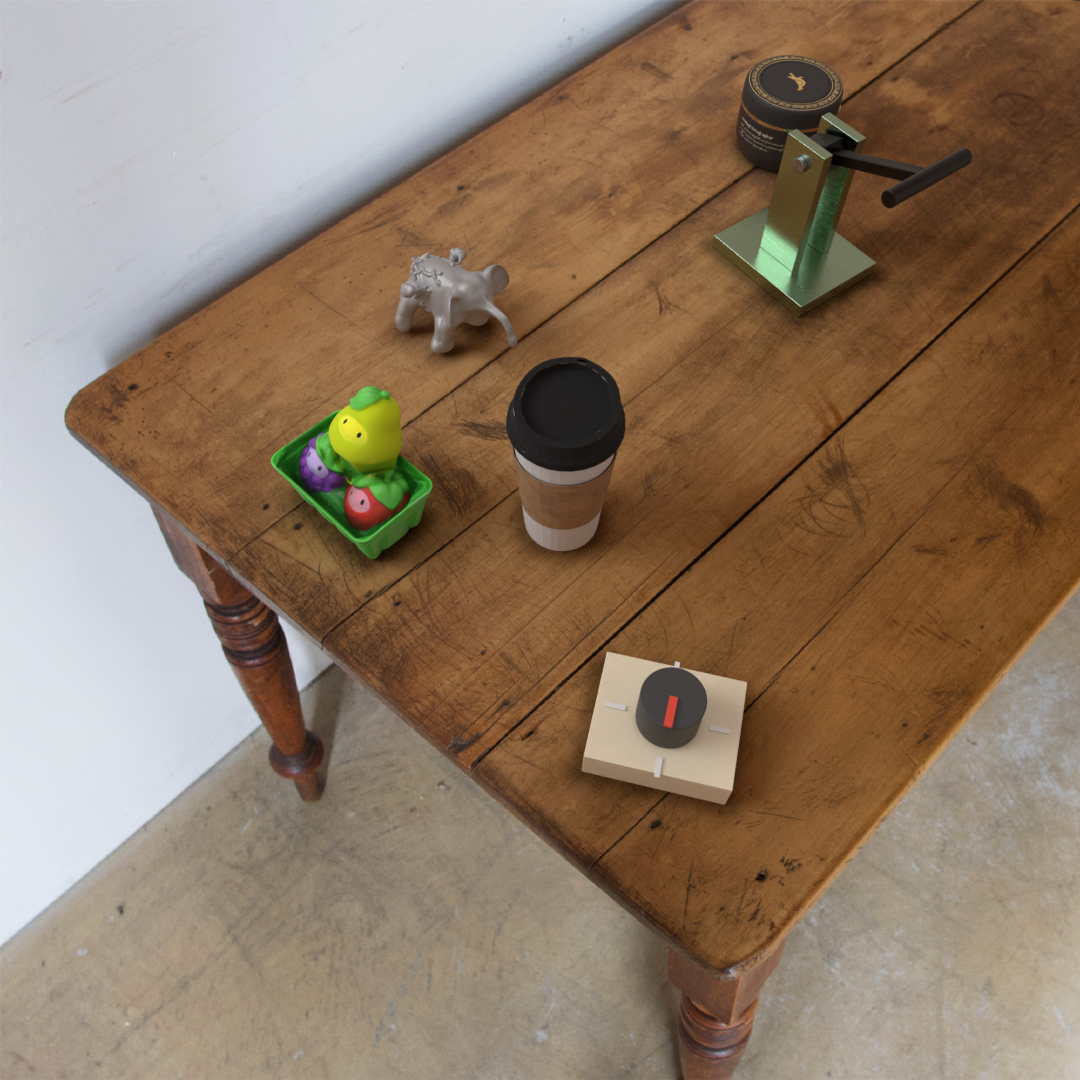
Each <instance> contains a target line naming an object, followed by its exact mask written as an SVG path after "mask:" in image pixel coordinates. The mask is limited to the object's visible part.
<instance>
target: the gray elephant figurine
mask: <svg viewBox="0 0 1080 1080" xmlns="http://www.w3.org/2000/svg"><path fill="white" fill-rule="evenodd" d="M467 255H468V254H467V251H466V250H463V249H462V248H461V247H452V248H451V249H449V257H448V258H446V257H442V255H440V254H438V255H434V254H431V252H429V251H426V252H425V253H424V254H422V255H420V256H419V255H418V256H417V257H416V256H412V257H411V258H410V259H411V261H412V262H411V265H410V270H409V273H408V275H409V277H408V279H406V281H405V282H403V283H401V285H400V286H401V287H400V291H399V292H400V295H399V302H398V305H397V309H396V313H395V317H394V323H395V327H396V328H397V330H399V331H400V332H402V333H406V332H408V331H409V330H410V329H411V327H412V325H413V321H414V317H415V314H416V312H417V310H419V308H420V309H421V310H422V309H423V310H424V309H425V311H426V312H428V313H431V315H432V316H433V319H434V331H433V336H432V338H431V341H430V349H431V352H433V353H434V354H445V353H448V352H450V351H452V350H453V348H454V347H455V343H454V339H453V338H454V335H455V333H456V331H457V328H458V326H459V325H460V324H465V323H466V324H469V325H471V326H475V327H480V326H483V325H485V324H486V323H487V322H488V320H489V318H490V317H493V318H495V319H496V320H497V321H499V323H500V324H501V325H502V326H503V329H504V331H505V334H506V340H507V343H508V346H509V347H510V348H515V347H517V345H518V337H517V335H516V332H515V329H514V326H513V325H512V323H511V321H510V319H509V317H508V316H507V315H506V314H505V313H504V312H503V311H502V310H501V309H500V308H498V307H497V306H496V305H495V303H494V297H497V296H499V295H501V294H502V293H503V291H505V289H506V288H507V287H508V285H509V284H510V275H509V272H508V271H507V268H505V267H504V266H503V265H501V264H491V265H488V266H487V267H486V268H485V269H484V270H475V271H469V270H467V269H465V268H464V267H463V265H462V264H463V263H462V262H463V260H465V259H466V258H467Z"/></svg>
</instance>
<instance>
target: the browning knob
mask: <svg viewBox="0 0 1080 1080" xmlns="http://www.w3.org/2000/svg"><path fill="white" fill-rule="evenodd" d="M681 668H682V667H680V668H676V667H667V668H662V669H659V670H657V671H655V672H653V673H651V674H650V675H649V676H648V677H647V678H646V679H645V681H644V682H643V685H642V687H641V690H640V695H639V699H638V703H637V708H636V713H635V719H636V724H637V727H638V729H639V731H640V733H641V734H642V735H643V737H644V738H645V739H646V740H648V741H649V742H650V743H652V744H654V745H656V746H659V747H662V748H678V747H681V746H684V745H686V744H687V743H689V742H690V741H691V740H692V739H693V738H694V737H695V735H696V734H697V732H698V729H699V727H700V724H701V721H702V719H703V716H704V714H705V711H706V708H707V694H706V691H705V688H704V686H703V685H702V683H701V682H700V680H699V679H698V678H697V677H696V676H694V675H693V674H692V673H690V672H688V671H686V670H684V669H681Z"/></svg>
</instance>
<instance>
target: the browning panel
mask: <svg viewBox="0 0 1080 1080" xmlns="http://www.w3.org/2000/svg"><path fill="white" fill-rule="evenodd" d="M680 666H681V662H680V661H674V665H671V664H666V663H661V662H657V661H653V660H647V659H644V658H639V657H635V656H629V655H625V654H620V653H615V652H611V651H606V655H605V660H604V663H603V667H602V673H601V677H600V680H599V681H600V682H599V686H598V691H597V695H596V699H595V704H594V708H593V713H592V717H591V720H590V721H591V722H590V726H589V731H588V735H587V739H586V744H585V748H584V753H583V756H582V757H583V759H582V765H581V772H584V773H587V774H591V775H596V776H600V777H603V778H608V779H612V780H616V781H621V782H625V783H630V784H633V785H637V786H638V785H639V786H643V787H647V788H651V789H655V790H659V791H662V792H663V791H664V792H668V793H673V794H677V795H681V796H685V797H690V798H692V799H693V798H694V799H696V800H697V799H698V800H702V801H706V802H710V803H715V804H719V805H726V803H727V802H728V799H729V798H730V796H731V794H732V793H733V790H734V783H735V774H736V768H737V760H738V752H739V747H740V738H741V734H742V733H741V732H742V725H743V717H744V712H745V711H744V710H745V703H746V695H747V689H748V682H747V681H743V680H739V679H735V678H730V677H726V676H721V675H716V674H712V673H707V672H703V671H698V670H693V669H689V668H684V667H680ZM667 667H676V668H681V669H684V670H686V671H688V672H690V673H692V674H693V675H694V676H696V677H697V678H698V679H699V680H700V682H701V683H702V685H703V686H704V688H705V691H706V694H707V708H706V711H705V714H704V716H703V719H702V721H701V724H700V727H699V729H698V732H697V734H696V735H695V737H694V738H693V739H692V740H691V741H690V742H689V743H687V744H686V745H684V746H681V747H678V748H662V747H659V746H656V745H654V744H652V743H650V742H649V741H648V740H646V739H645V738H644V737H643V735H642V734H641V733H640V731H639V729H638V727H637V724H636V719H635V713H636V708H637V703H638V699H639V695H640V690H641V687H642V685H643V682H644V681H645V679H646V678H647V677H648V676H649V675H650V674H651V673H653V672H655V671H657V670H659V669H662V668H667Z"/></svg>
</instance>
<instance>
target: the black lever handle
mask: <svg viewBox="0 0 1080 1080" xmlns="http://www.w3.org/2000/svg"><path fill="white" fill-rule="evenodd" d="M809 138H810V139H811V140H813V141H814V142H816V143H817V144H818V145H820V146H821V147H823V148H824V149H825V150H827V151H828V152H830V153H831V154H832V155H833V157H832V160H831V164H830V167H829V170H828V173H829V172H831V171H833V170H835V169H836V168H838V167H840V166H841V167H845V168H849V169H853V170H855V171H858V172H862V173H866V174H871V175H874V176H877V177H878V176H879V177H883V178H887V179H891V180H895V181H898V183H896V184H895V185H893V186H891V187H889V188H887V189H885V190H884V191H882V193H881V195H880V201H881V204H882V205H883V206H884V207H885V208H886V209H893V208H895V207H897V206H899V205H900V204H902V203H903V202H905V201H907V200H910V199H911V198H912V197H914V196H916V195H918V194H919V193H921V192H923V191H925V190H926V189H928V188H931V187H932V186H933V185H936V184H937V183H940V182H941V181H942V180H944V179H946V178H948V177H950V176H951V175H953V174H956V173H957V172H958V171H960V170H962V169H964V168H966V167H967V166H969V165H970V164H971V163H972V161H973V154H972V151H971V150H970V149H969V148H967V147H961V148H959V149H957V150H955V151H954V152H952V153H950V154H948V155H946V156H944V157H942V158H941V159H939V160H938V161H936V162H934V163H932V164H930V165H928V166H927V167H924V166H920V165H914V164H910V163H907V162H906V163H905V162H902V161H896V160H894V159H893V160H892V159H888V158H885V157H879V156H875V155H870V154H866V153H862V152H861V153H857V152H853V151H848V150H844V149H843V138H842V137H837V136H832V135H828V134H823V133H817V134H815V135H813V136H811V137H809Z"/></svg>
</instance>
